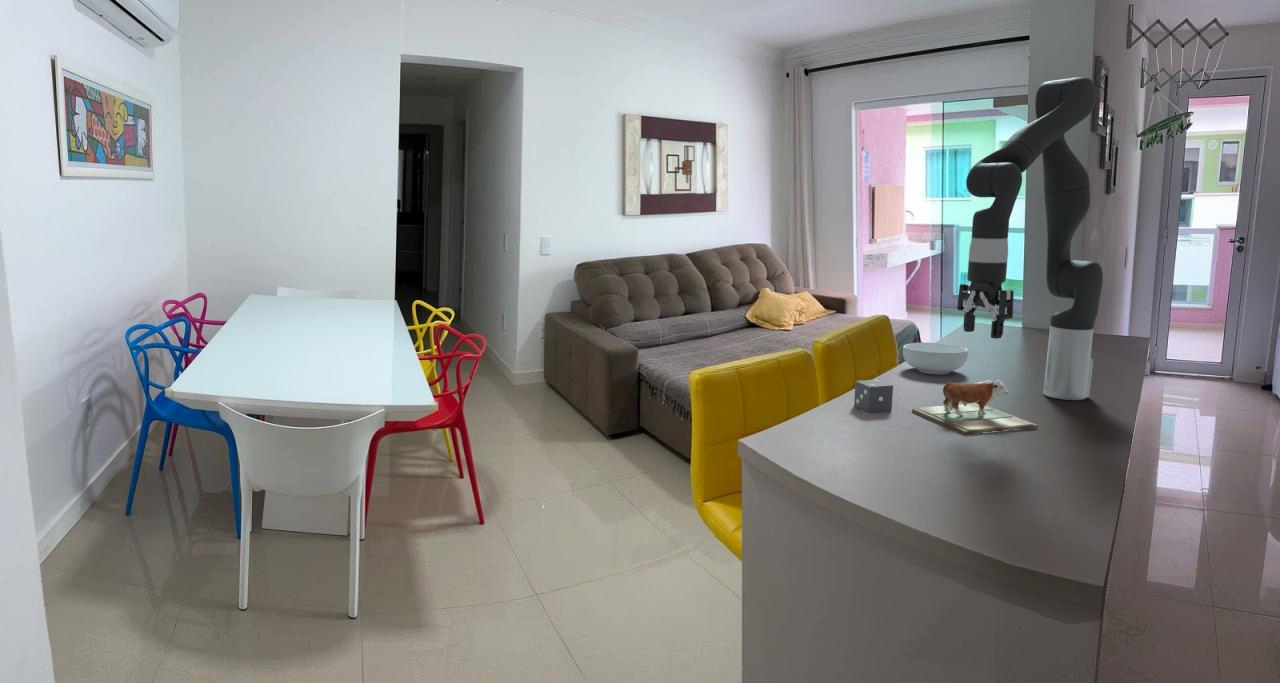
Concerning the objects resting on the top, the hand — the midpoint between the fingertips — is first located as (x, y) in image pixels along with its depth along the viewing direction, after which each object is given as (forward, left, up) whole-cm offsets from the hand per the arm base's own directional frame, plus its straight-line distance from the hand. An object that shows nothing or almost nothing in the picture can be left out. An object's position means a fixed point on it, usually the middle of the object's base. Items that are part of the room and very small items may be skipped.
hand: (982, 334), depth 167 cm
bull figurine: (+1, 0, -18) cm, 18 cm away
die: (+17, -13, -19) cm, 29 cm away
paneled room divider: (+1, +1, -19) cm, 19 cm away
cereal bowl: (-21, -43, -19) cm, 52 cm away
